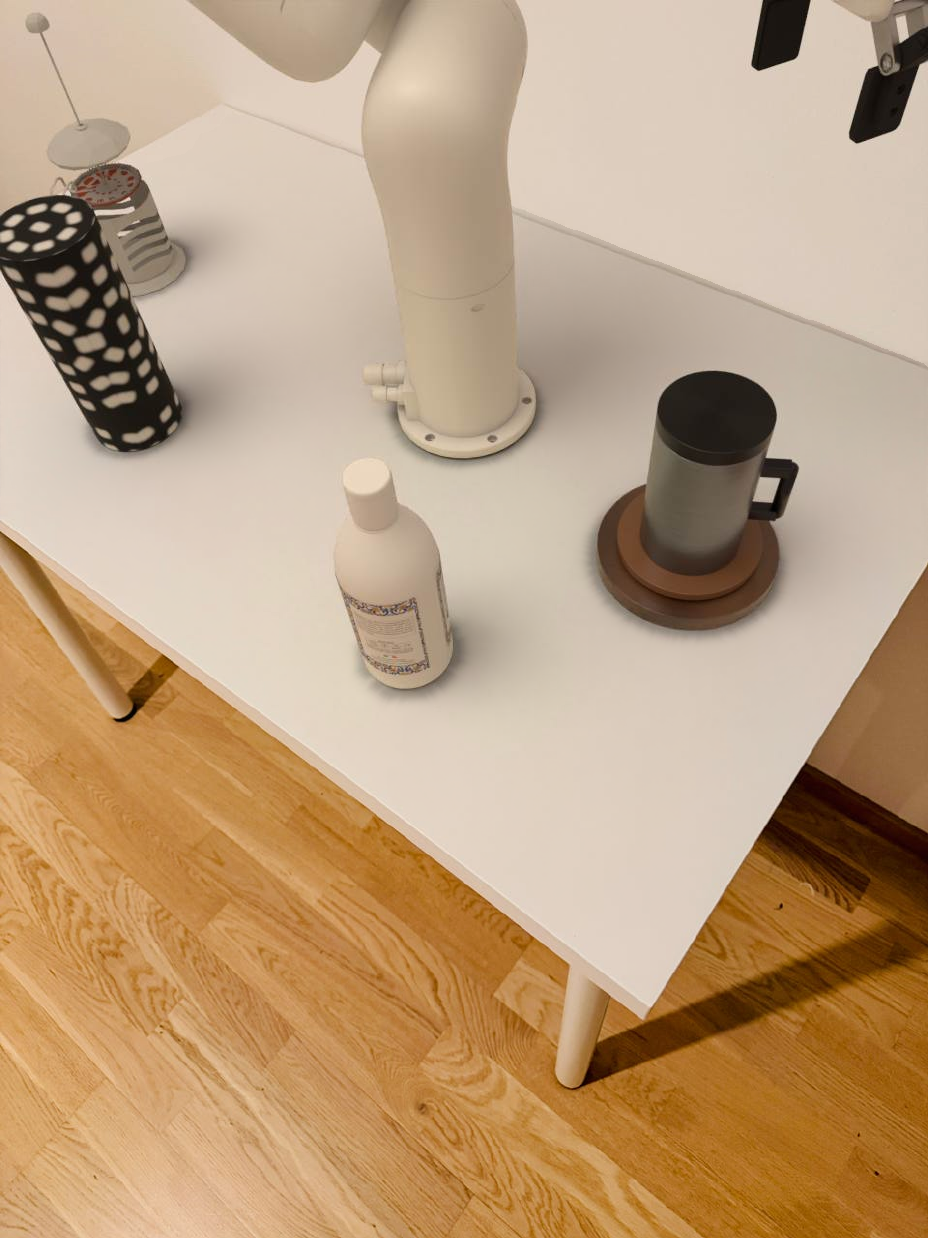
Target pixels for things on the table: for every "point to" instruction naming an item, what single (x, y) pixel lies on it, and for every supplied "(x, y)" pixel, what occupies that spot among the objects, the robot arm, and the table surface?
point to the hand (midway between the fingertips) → (821, 97)
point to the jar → (705, 488)
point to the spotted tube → (87, 320)
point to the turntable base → (679, 610)
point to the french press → (114, 194)
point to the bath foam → (391, 581)
